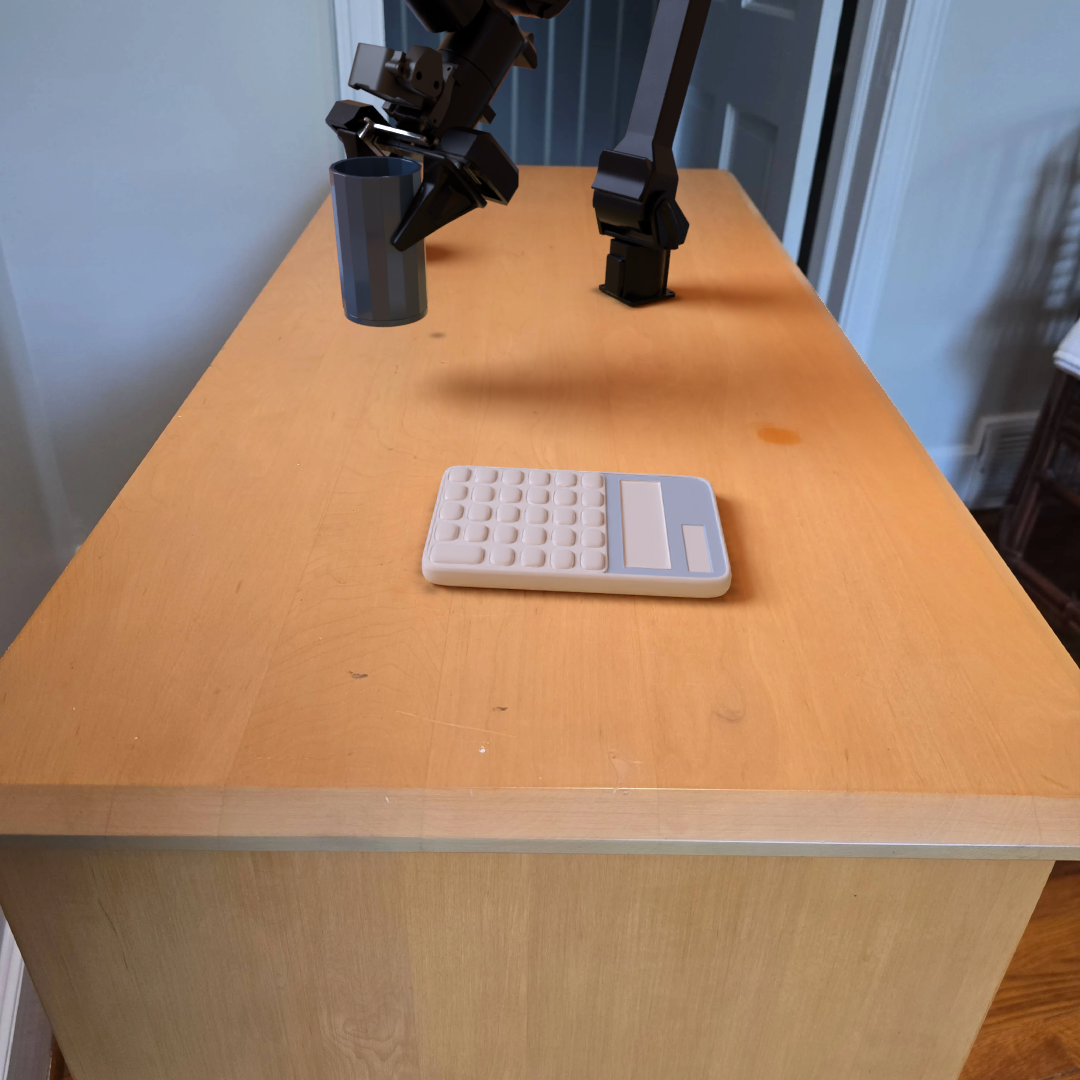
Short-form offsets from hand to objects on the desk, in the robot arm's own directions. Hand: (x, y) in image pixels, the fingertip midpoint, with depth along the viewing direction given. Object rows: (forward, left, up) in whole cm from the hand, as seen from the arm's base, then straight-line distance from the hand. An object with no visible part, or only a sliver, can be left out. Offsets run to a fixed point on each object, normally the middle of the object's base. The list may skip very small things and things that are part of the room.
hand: (367, 237), depth 76 cm
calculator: (-2, +29, -14) cm, 32 cm away
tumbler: (-1, 0, -7) cm, 7 cm away
